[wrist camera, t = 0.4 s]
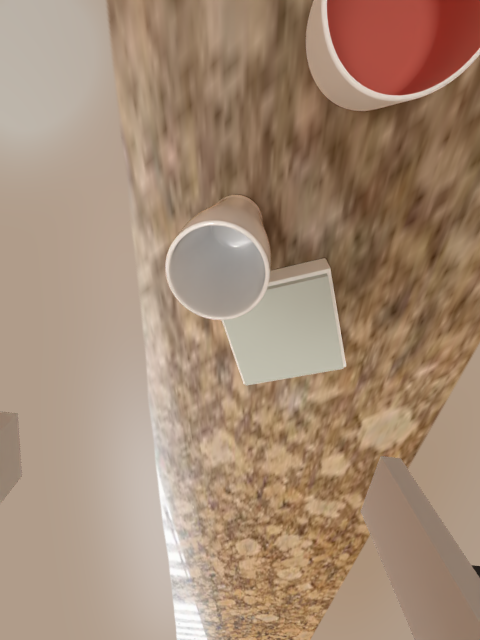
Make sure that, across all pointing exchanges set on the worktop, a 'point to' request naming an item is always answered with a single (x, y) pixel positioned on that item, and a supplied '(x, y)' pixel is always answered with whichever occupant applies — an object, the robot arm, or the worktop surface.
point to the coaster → (289, 327)
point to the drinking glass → (221, 260)
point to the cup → (389, 48)
